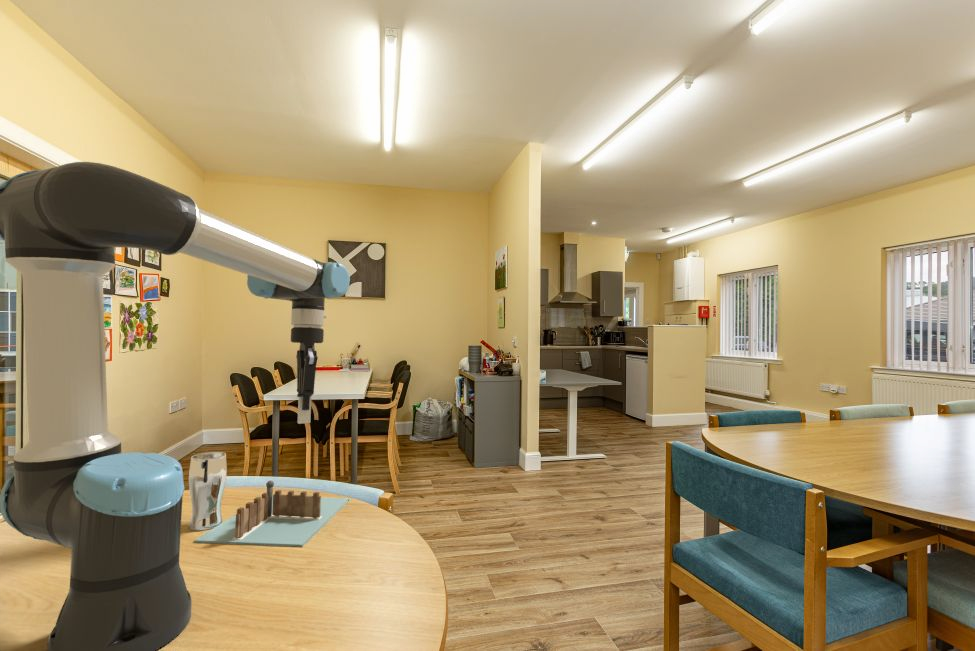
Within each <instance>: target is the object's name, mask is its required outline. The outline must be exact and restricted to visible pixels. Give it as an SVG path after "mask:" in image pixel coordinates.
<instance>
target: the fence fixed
mask: <svg viewBox="0 0 975 651" xmlns="http://www.w3.org/2000/svg"><path fill="white" fill-rule="evenodd" d="M265 486H266V492H263V493H262V494H261V497H259V496H258V497H255V498H254V499H253V502H252V501H248V502H247V503H245V507H239V508H237V509H236V514H235V515H236V527H235V538H241V537H242V536H243V534H244V533H245V532H249V531H251V530H252V527H254V526H258V525H259V524H260V522H261V521H262V520H266V519H267V517H270V516H272V497H273V495H274V493H273V492H274V486H275V482H274V481H273V480H267V482H266V485H265Z"/></svg>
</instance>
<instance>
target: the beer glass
mask: <svg viewBox="0 0 975 651" xmlns="http://www.w3.org/2000/svg"><path fill="white" fill-rule="evenodd" d="M227 464H228V463H227V453H226V452H224V451H223V452H222V451H209V452H202V453H201V452H200V453H196V454H193V455H192V456H191V457H190V463H189V471H188V473H189V474H188V489H189V494H190V495H189V496H190V501H191V502H190V503H191V517H190V521H189V525H188V528H189V530H191V531H195V532H196V531H197V532H200V531H208V530H212V529H213V528H215V527H216V526H218V525H220V524H221V523H223V516H222V500H223V495H224V490H225V486H226V481H227V473H228V472H227V471H228V470H227V469H228V468H227Z"/></svg>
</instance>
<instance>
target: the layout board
mask: <svg viewBox="0 0 975 651" xmlns="http://www.w3.org/2000/svg"><path fill="white" fill-rule="evenodd" d="M349 499H350V498H349V497H348V498H345V497H342V498H341V497H321V512H320V517H319V518H312V517H296V516H291V517H290V516H274V515H272V516H270V517H267V519H266V520H262V521H261V522H260V524H259V525H258V526H254V527H252V530H251V531H249V532H245V533H244V534H243V536H242V537H241V538H235V527H236V514H234V515H233V516H231V517H229V518H227V519H226V520H223V521H222V523H221V524H220V525H218V526H216V527H215V528H212V529H209V531H208V530H207V532H205V533H203V534H202V535H201V536H198V538H195V539H194V541H193V542H194V543H200V544H201V543H203V544H222V545H223V544H226V545H227V544H228V545H247V546H248V545H249V546H276V547H277V546H278V547H300V548H301V547H302V548H303V547H304V546H305V545H306V544H307V543H308V542H309V541H310V540H311V539H312V538H313V537H314V536H315V535H316V534H317V533H318V532H319V531H320V530H321V529H322V528H323V527H325V525H326V524H327V523H328V522H329V521H330V520H331V519H332V518H333V517H335V515H336V514H337V513H338V512H339V511H340V510H341V509H342V508H343V507H344V506H345V505H347V503H348V502H349V501H350V500H349ZM348 500H349V501H348ZM272 511H273V497H272Z"/></svg>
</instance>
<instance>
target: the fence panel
mask: <svg viewBox="0 0 975 651" xmlns="http://www.w3.org/2000/svg"><path fill="white" fill-rule="evenodd" d="M312 493H313V494H312V495H307V494H308V492H307V491H303V490H302V491H300V494H295V490H288V491H287V494H286V493H285V494H283V493H282V490H280V489H277V490H275V491H274V493H273V511H272V515H274V516H290V517H291V516H296V517H312V518H319V517H320V512H321V498H322V496H321V495H320V491H315V492H312Z"/></svg>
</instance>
